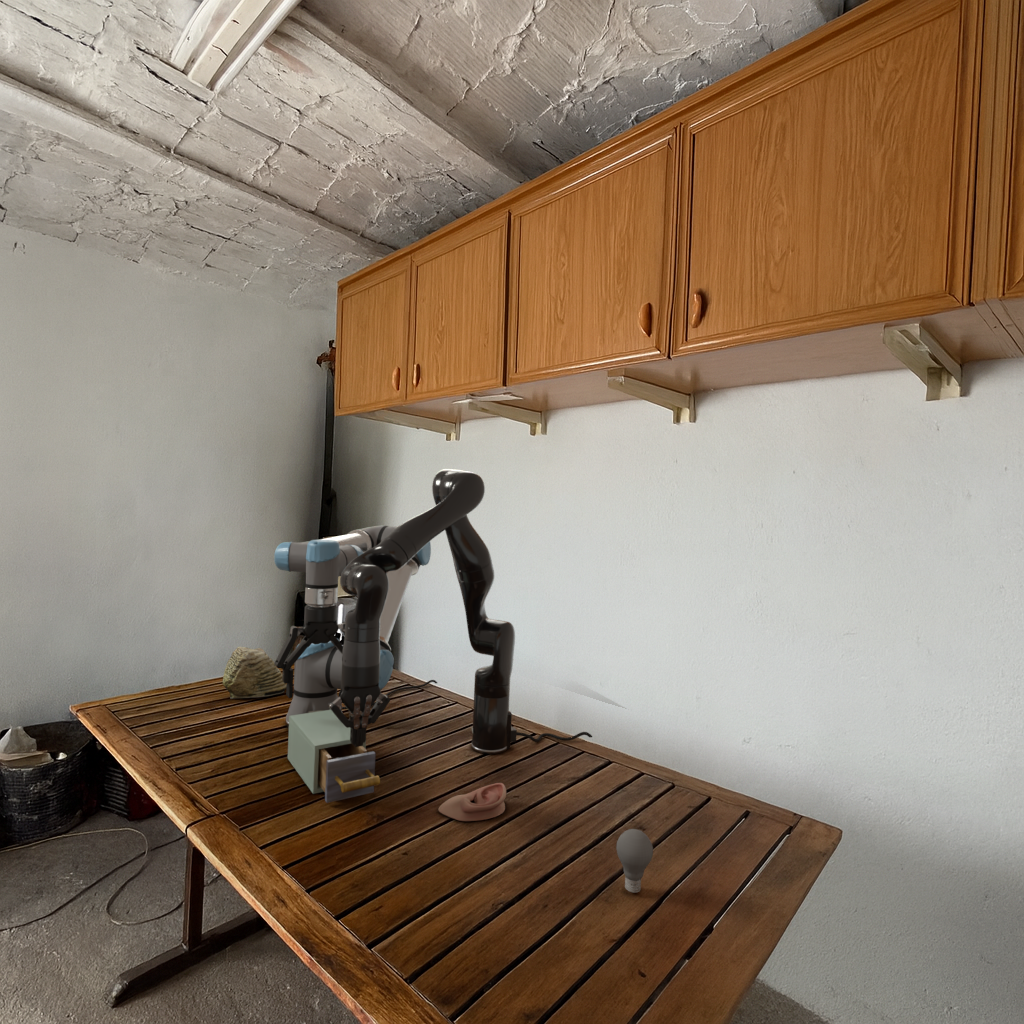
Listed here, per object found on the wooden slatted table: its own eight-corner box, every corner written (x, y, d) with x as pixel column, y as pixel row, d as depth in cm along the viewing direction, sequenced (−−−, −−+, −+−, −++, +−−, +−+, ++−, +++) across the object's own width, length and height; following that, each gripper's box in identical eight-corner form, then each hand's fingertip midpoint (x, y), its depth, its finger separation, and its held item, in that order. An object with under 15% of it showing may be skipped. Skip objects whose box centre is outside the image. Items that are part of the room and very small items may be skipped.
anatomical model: (434, 797, 127) (451, 773, 138) (433, 817, 127) (450, 791, 138) (498, 806, 124) (510, 781, 135) (497, 826, 124) (509, 800, 136)
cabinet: (364, 782, 141) (366, 736, 141) (313, 794, 135) (314, 745, 135) (334, 749, 158) (335, 708, 158) (287, 758, 152) (289, 715, 152)
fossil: (218, 695, 195) (220, 647, 195) (278, 685, 208) (279, 640, 207) (228, 703, 189) (230, 653, 188) (289, 692, 201) (290, 645, 201)
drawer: (384, 804, 130) (386, 763, 130) (336, 816, 124) (337, 773, 124) (343, 758, 151) (344, 723, 151) (300, 767, 145) (301, 730, 145)
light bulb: (610, 879, 108) (613, 822, 108) (644, 879, 109) (647, 822, 109) (619, 902, 102) (622, 840, 102) (655, 901, 103) (658, 840, 103)
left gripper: (270, 610, 142) (267, 704, 142) (376, 603, 156) (373, 689, 156) (263, 605, 148) (260, 695, 148) (365, 599, 162) (362, 681, 162)
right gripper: (335, 669, 122) (331, 758, 122) (398, 661, 129) (395, 745, 130) (323, 659, 128) (319, 744, 129) (384, 653, 136) (381, 733, 136)
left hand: (318, 692), depth 152 cm, fingers open, 13 cm apart
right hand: (357, 745), depth 129 cm, fingers closed
